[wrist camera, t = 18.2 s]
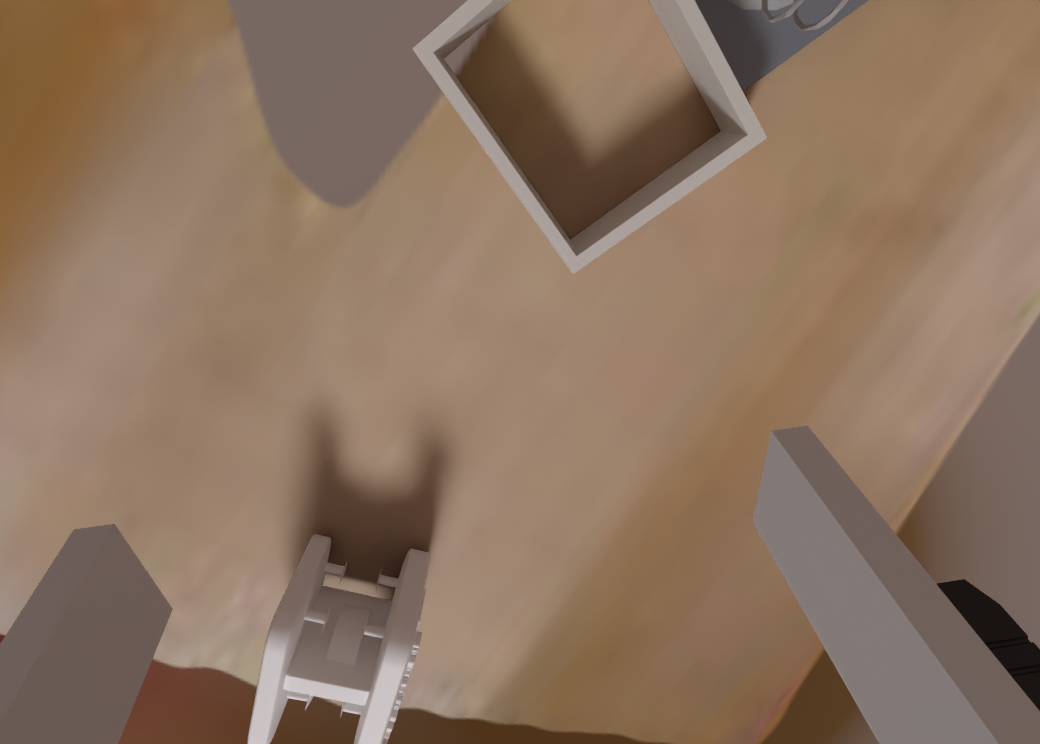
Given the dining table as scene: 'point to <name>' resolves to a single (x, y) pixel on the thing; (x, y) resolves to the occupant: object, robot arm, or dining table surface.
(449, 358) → the dining table surface
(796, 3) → the french press
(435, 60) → the white open storage bin
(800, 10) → the rubber mat
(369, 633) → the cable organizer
